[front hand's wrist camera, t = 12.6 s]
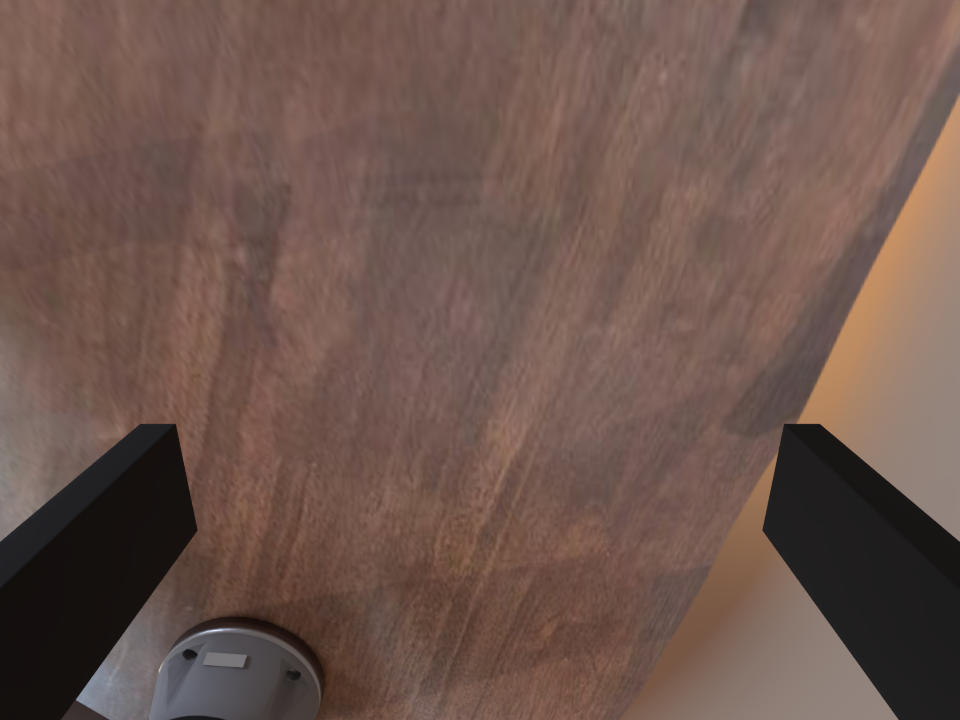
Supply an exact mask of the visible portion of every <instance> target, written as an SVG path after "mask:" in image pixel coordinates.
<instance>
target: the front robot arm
mask: <svg viewBox="0 0 960 720" xmlns="http://www.w3.org/2000/svg"><path fill="white" fill-rule="evenodd" d="M196 532H197V525H196V520H195V516H194V511H193V506H192V501H191V496H190V491H189V486H188V481H187V477H186V472H185V467H184V462H183V457H182V452H181V447H180V442H179V437H178V433H177V428H176V424H140V425H138V426H137V427H136V428H135V429H134V430H133V431H131V432H130V433H129V434H128V435H127V436H125V437H124V438H123V439H122V440H121V441H119V442H118V443H117V444H116V445H115V446H113V447H112V448H111V449H110V450H109V451H108V452H106V453H105V454H104V455H103V456H102V457H100V458H99V459H98V460H97V461H96V462H94V463H93V464H92V465H91V466H90V467H89V468H87V469H86V470H85V471H84V472H83V473H81V474H80V475H79V476H78V477H77V478H75V479H74V480H73V481H72V482H71V483H70V484H68V485H67V486H66V487H65V488H64V489H62V490H61V491H60V492H59V493H58V494H56V495H55V496H54V497H53V498H52V499H51V500H49V501H48V502H47V503H46V504H45V505H43V506H42V507H41V508H40V509H39V510H37V511H36V512H35V513H34V514H33V515H32V516H30V517H29V518H28V519H27V520H26V521H24V522H23V523H22V524H21V525H20V526H18V527H17V528H16V529H15V530H14V531H13V532H11V533H10V534H9V535H8V536H7V537H5V538H4V539H3V540H2V541H1V542H0V720H109V719H107V718H106V717H104V716H102V715H100V714H99V713H97V712H95V711H94V710H92V709H90V708H88V707H87V706H85V705H83V704H82V703H80V702H78V701H76V699H77V697H78V696H79V694H80V693H81V692H82V690H83V689H84V687H85V686H86V685H87V683H88V682H89V680H90V679H91V678H92V676H93V675H94V674H95V672H96V671H97V669H98V668H99V667H100V665H101V664H102V662H103V661H104V660H105V658H106V657H107V655H108V654H109V653H110V651H111V650H112V649H113V647H114V646H115V644H116V643H117V642H118V640H119V639H120V637H121V636H122V635H123V633H124V632H125V630H126V629H127V628H128V626H129V625H130V624H131V622H132V621H133V619H134V618H135V617H136V615H137V614H138V612H139V611H140V610H141V608H142V607H143V605H144V604H145V603H146V601H147V600H148V599H149V597H150V596H151V594H152V593H153V592H154V590H155V589H156V587H157V586H158V585H159V583H160V582H161V580H162V579H163V578H164V576H165V575H166V574H167V572H168V571H169V569H170V568H171V567H172V565H173V564H174V562H175V561H176V560H177V558H178V557H179V555H180V554H181V553H182V551H183V550H184V549H185V547H186V546H187V544H188V543H189V542H190V540H191V539H192V537H193V536H194V535H195V533H196ZM763 532H764V533H765V535H766V536H767V537H768V539H769V540H770V541H771V543H772V544H773V546H774V547H775V548H776V550H777V551H778V553H779V554H780V555H781V557H782V558H783V560H784V561H785V562H786V564H787V565H788V567H789V568H790V569H791V571H792V572H793V573H794V575H795V576H796V578H797V579H798V580H799V582H800V583H801V585H802V586H803V587H804V589H805V590H806V592H807V593H808V594H809V596H810V597H811V598H812V600H813V601H814V603H815V604H816V605H817V607H818V608H819V610H820V611H821V612H822V614H823V615H824V617H825V618H826V619H827V621H828V622H829V624H830V625H831V626H832V628H833V629H834V630H835V632H836V633H837V635H838V636H839V637H840V639H841V640H842V642H843V643H844V644H845V646H846V647H847V649H848V650H849V651H850V653H851V654H852V655H853V657H854V658H855V660H856V661H857V662H858V664H859V665H860V667H861V668H862V669H863V671H864V672H865V674H866V675H867V676H868V678H869V679H870V680H871V682H872V683H873V685H874V686H875V687H876V689H877V690H878V692H879V693H880V694H881V696H882V697H883V699H884V700H885V701H886V703H887V704H888V705H889V707H890V708H891V710H892V711H893V712H894V714H895V715H896V717H897V718H898V719H899V720H960V542H959V541H958V540H957V539H956V538H955V537H953V536H952V535H951V534H950V533H949V532H947V531H946V530H945V529H944V528H943V527H942V526H940V525H939V524H938V523H937V522H936V521H934V520H933V519H932V518H931V517H930V516H928V515H927V514H926V513H925V512H924V511H923V510H921V509H920V508H919V507H918V506H917V505H915V504H914V503H913V502H912V501H911V500H909V499H908V498H907V497H906V496H905V495H904V494H902V493H901V492H900V491H899V490H897V489H896V488H895V487H894V486H893V485H892V484H890V483H889V482H888V481H887V480H886V479H885V478H883V477H882V476H881V475H880V474H879V473H877V472H876V471H875V470H874V469H873V468H871V467H870V466H869V465H868V464H867V463H865V462H864V461H863V460H862V459H861V458H860V457H858V456H857V455H856V454H855V453H854V452H852V451H851V450H850V449H849V448H848V447H846V446H845V445H844V444H843V443H842V442H841V441H839V440H838V439H837V438H836V437H835V436H833V435H832V434H831V433H830V432H829V431H827V430H826V429H825V428H824V427H823V426H822V425H820V424H784V428H783V433H782V437H781V442H780V447H779V452H778V457H777V462H776V467H775V472H774V477H773V481H772V486H771V491H770V496H769V501H768V506H767V511H766V516H765V520H764V525H763ZM323 692H324V675H323V671H322V668H321V666H320V664H319V662H318V660H317V658H316V657H315V655H314V654H313V652H312V651H311V650H310V649H309V648H308V647H307V646H306V645H305V644H304V643H303V642H302V641H301V640H300V639H298V638H297V637H295V636H294V635H293V634H291V633H289V632H288V631H286V630H284V629H282V628H280V627H277V626H275V625H272V624H269V623H266V622H263V621H259V620H254V619H247V618H222V619H216V620H211V621H207V622H204V623H201V624H199V625H197V626H195V627H193V628H191V629H189V630H188V631H187V632H185V633H184V634H183V635H182V636H181V637H179V638H178V640H177V641H176V642H175V643H174V645H173V646H172V648H171V650H170V651H169V653H168V655H167V656H166V658H165V660H164V661H163V663H162V665H161V667H160V670H159V673H158V678H157V683H156V688H155V692H154V697H153V702H152V707H151V712H150V716H149V720H315V718H316V716H317V714H318V710H319V707H320V703H321V700H322V696H323Z"/></svg>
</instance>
